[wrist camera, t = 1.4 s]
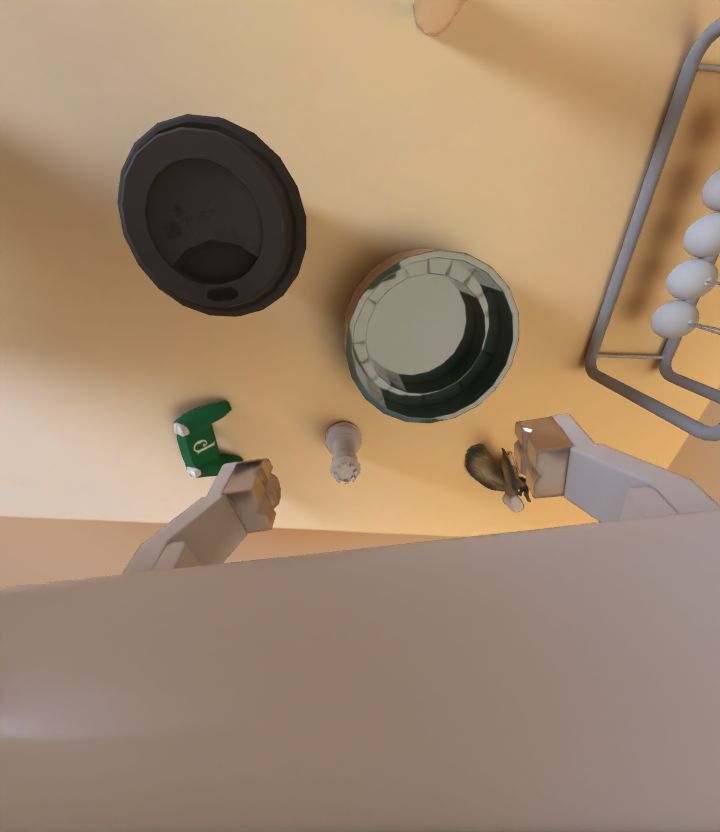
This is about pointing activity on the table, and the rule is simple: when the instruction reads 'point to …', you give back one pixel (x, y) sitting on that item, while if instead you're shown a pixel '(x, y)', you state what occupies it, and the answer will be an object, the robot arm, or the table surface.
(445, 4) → the milkshake
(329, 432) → the rook chess piece
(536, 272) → the table surface
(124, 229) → the coffee cup
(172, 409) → the table surface
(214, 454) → the gaming controller
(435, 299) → the dark green pet bowl
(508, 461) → the eagle figurine
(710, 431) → the newton's cradle
